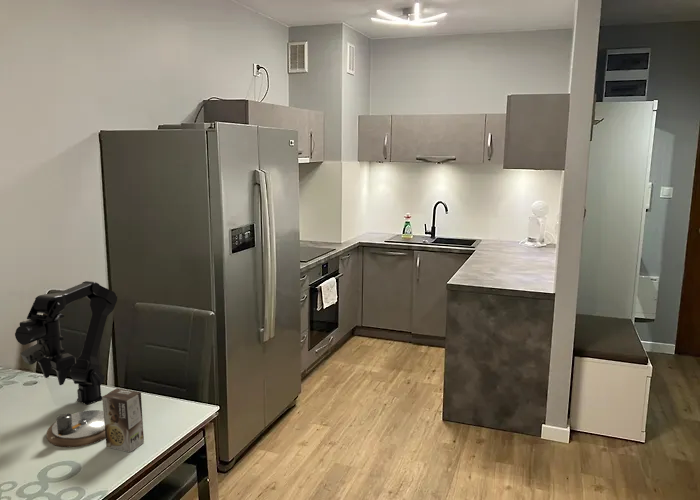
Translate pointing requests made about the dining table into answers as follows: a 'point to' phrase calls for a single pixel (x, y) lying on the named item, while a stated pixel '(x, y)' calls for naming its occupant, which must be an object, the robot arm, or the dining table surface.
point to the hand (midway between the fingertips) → (54, 381)
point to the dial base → (75, 442)
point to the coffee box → (123, 419)
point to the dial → (79, 425)
